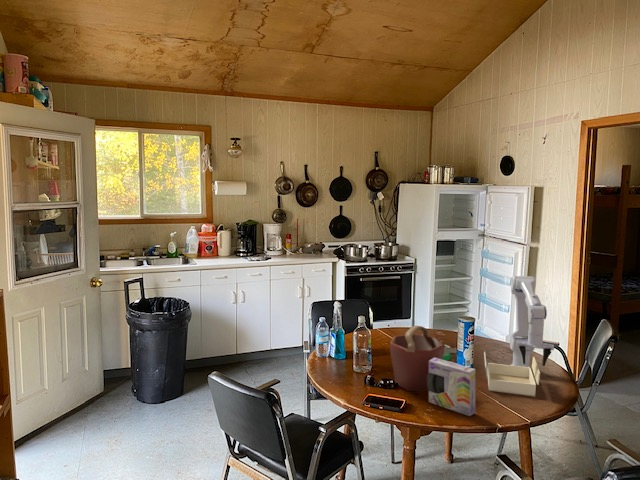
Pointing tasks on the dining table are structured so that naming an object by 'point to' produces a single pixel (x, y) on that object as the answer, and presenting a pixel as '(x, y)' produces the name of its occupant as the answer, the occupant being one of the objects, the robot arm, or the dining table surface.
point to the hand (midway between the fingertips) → (533, 364)
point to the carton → (511, 379)
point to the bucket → (414, 358)
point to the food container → (449, 353)
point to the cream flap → (535, 370)
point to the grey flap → (485, 365)
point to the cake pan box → (451, 386)
